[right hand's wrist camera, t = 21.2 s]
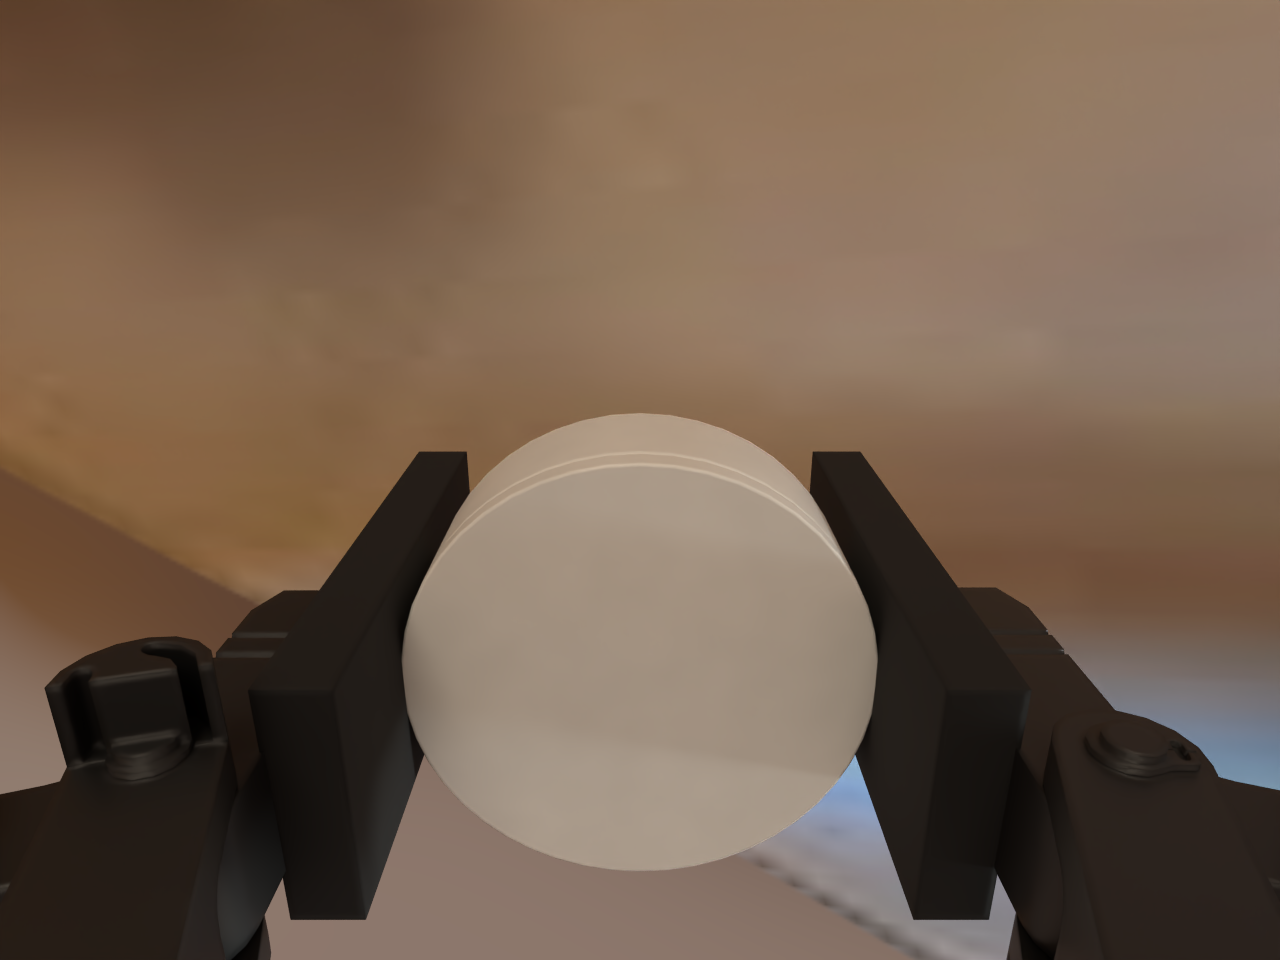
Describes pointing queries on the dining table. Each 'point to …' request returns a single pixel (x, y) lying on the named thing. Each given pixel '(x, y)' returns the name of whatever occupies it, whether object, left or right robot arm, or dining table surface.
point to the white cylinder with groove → (639, 647)
